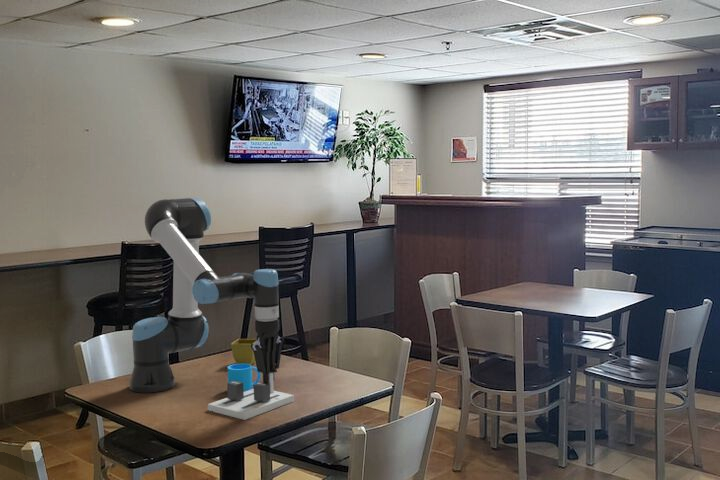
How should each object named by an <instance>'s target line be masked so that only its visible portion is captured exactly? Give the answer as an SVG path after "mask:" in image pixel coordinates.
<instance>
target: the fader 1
mask: <svg viewBox="0 0 720 480" xmlns="http://www.w3.org/2000/svg"><path fill="white" fill-rule="evenodd" d="M226 387H227V397H228V399H231V400H235V401H238V400H241V399H243V398H244V391H243V383H242V382H237V381H232V382H229V383H228V382H227V385H226Z"/></svg>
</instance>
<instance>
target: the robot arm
mask: <svg viewBox="0 0 720 480" xmlns="http://www.w3.org/2000/svg"><path fill="white" fill-rule="evenodd" d="M211 224H212V215H211V211H210V209H209V207H208V205H207V203H205V202H204V201H203V199H200V198H192V197H191V198H189V197H187V198H186V197H185V198H170V199H166V198H164V199H159V200H157V201H155V202H154V203H153V204H151V205H150V206H149V207H148V209H147V211H146V213H145V215H144V227H145V230H146V232H147V234H148V236H149V237H150V238H151V240H152V241H154V242H155V243H158V244H160V246H161V247H162V248H163V249H164V250H165V251H166V254H168V256H169V257H170V258H171V259H172V260H173V273H172V275H173V279H172V280H173V282H172V284H173V285H172V286H173V287H172V309H170V310H169V311H168V313H167V315H168V317H165V316H154V317H147V318H143V319H141V320H139V321H137V322H135V323H134V325H133V327H132V335H131V338H132V350H133V353H132V354H133V368H132V373H131V377H130V380H129V390H130V391H131V392H136V393H140V394H141V393H143V394H146V393H158V392H163V391H167V390H170V389H173V388H174V387H175V386H176V379H175V376H174V373H173V370H172V368H171V365H170V360H169V359H170V357H169V354H172V353H177V352H183V351H188V350H189V351H190V350H194V349H196V348H199V347H202V346H203V344H205V342H206V341H207V339H208V335H209V330H210V328H209V323H208V320H207V318H206V317H205V316H204V315H203V312H202V311H201V310H200V309H199V307H198V306H199V304H201V305H204V304H205V305H206V304H215V303H218V302H219V303H220V302H225V301H231V300H239V299H245V298H247V299H253V300H254V319H255V321H254V327H255V328H254V330H255V332H256V338H255V339H256V340H257V341H256V342H255V344H251V348H252V350H253V352H254V357H255V367H256V368H257V371H258V372H260V374H262V383H267V384H270V394H272V393H274V391H275V387H274V386H275V385H274V382H275V373H277V372H278V369H279V368H280V363H281V355H282V347H283V343H284V342H285V339H284V337H280V336H279V335H280V334H279V333H278V332H279V331H280V319H279V317H280V311H279V310H280V309H279V307H280V306H279V305H280V303H279V302H280V300H279V298H280V297H279V294H280V293H279V284H280V283H279V276H278V275H279V274H278V272H277V270H276V269H272V268H262V269H260V268H259V269H256V270H254V272H253V274H252V273H246V272H235V273H233V274H231V275H225V276H218V275H217V273H216V272H215V271H214V269H212V267H210V265H209V264H208V263H207V261H206V260H205V259H204V258H203V257H202V256H201V255H200V252H199V251H200V249H199V248H200V242H201V241H202V240H203V239H204V232H206V231H208V230H209V228H210V226H211ZM257 371H256V372H257Z"/></svg>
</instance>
